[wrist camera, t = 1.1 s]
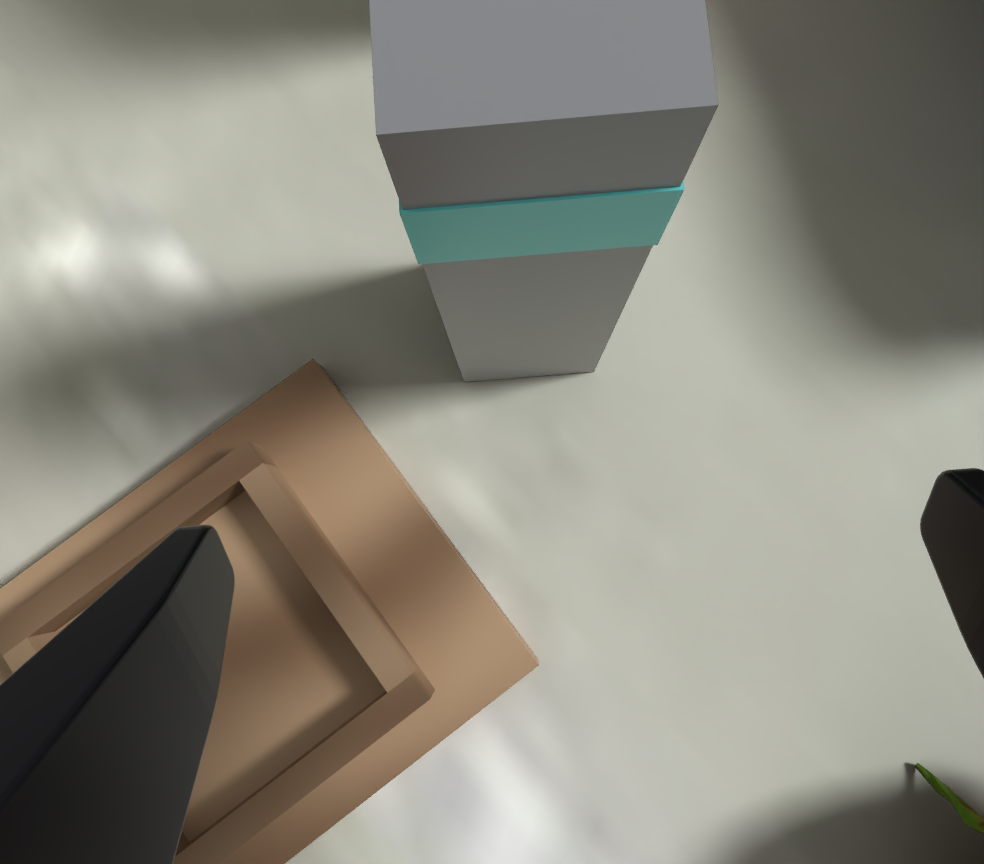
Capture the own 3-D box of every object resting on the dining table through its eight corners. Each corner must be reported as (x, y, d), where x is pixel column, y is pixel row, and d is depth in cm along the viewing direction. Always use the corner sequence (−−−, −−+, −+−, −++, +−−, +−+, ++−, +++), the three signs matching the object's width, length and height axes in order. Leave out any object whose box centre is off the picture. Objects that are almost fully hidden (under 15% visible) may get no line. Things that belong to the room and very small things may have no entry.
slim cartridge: (595, 373, 22) (723, 109, 8) (462, 383, 22) (371, 138, 8) (583, 246, 23) (684, -198, 9) (454, 257, 23) (357, -166, 9)
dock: (537, 659, 21) (547, 720, 14) (23, 1060, 20) (-237, 1336, 13) (321, 366, 23) (235, 292, 16) (-168, 726, 22) (-493, 819, 15)
